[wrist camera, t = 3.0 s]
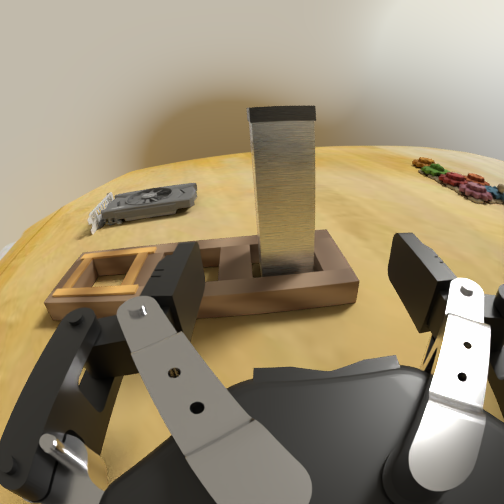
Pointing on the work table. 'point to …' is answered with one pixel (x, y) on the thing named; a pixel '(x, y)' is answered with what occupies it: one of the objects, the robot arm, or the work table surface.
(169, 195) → the graphics card
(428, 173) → the gear puzzle
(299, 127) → the peg
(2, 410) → the work table surface
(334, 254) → the rail
